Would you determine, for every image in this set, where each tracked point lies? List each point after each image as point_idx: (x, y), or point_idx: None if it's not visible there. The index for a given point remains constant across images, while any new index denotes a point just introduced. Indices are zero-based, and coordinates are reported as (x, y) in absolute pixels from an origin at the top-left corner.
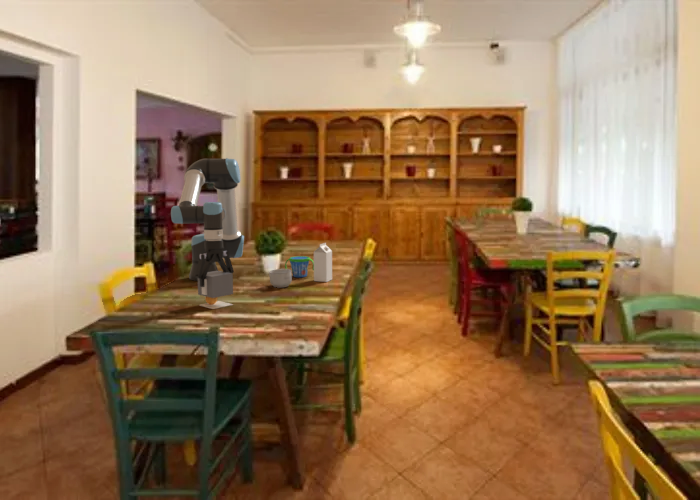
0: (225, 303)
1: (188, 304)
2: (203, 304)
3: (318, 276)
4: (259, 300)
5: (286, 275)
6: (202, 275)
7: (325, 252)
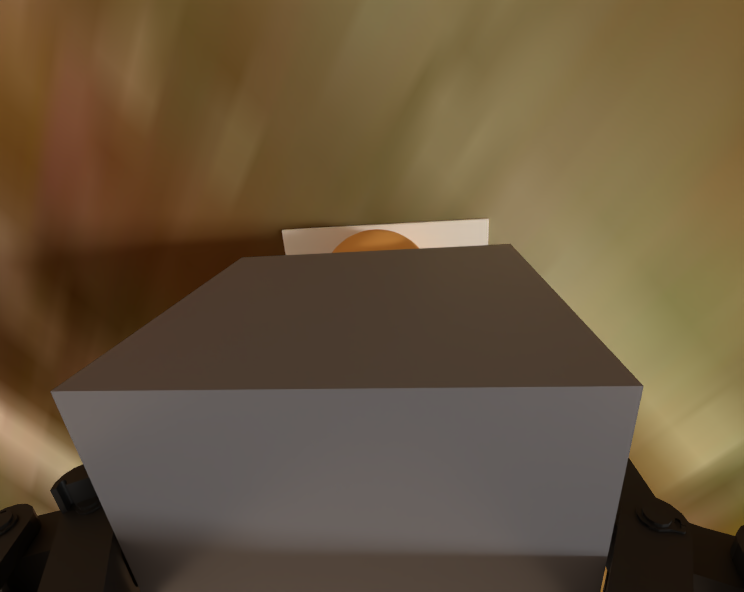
0: None
1: (227, 129)
2: (316, 246)
3: None
4: (715, 425)
5: None
6: (107, 544)
7: None
